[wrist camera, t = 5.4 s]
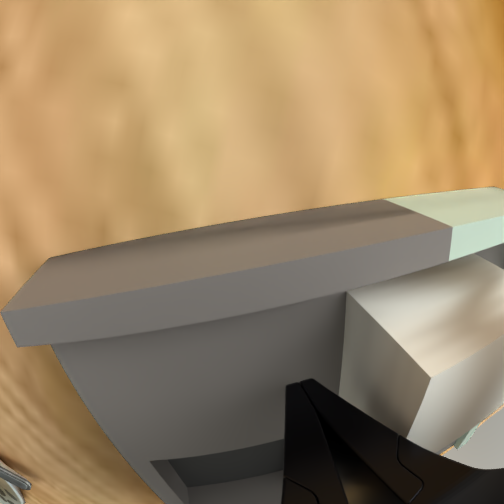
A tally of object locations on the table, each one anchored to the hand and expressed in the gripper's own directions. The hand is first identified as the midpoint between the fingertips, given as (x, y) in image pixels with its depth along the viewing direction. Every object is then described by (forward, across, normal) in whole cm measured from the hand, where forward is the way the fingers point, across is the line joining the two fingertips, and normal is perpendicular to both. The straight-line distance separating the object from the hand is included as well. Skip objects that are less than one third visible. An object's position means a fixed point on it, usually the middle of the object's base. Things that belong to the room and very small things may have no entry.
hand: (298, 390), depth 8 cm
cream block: (+1, -5, 0) cm, 5 cm away
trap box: (+3, -2, +4) cm, 5 cm away
